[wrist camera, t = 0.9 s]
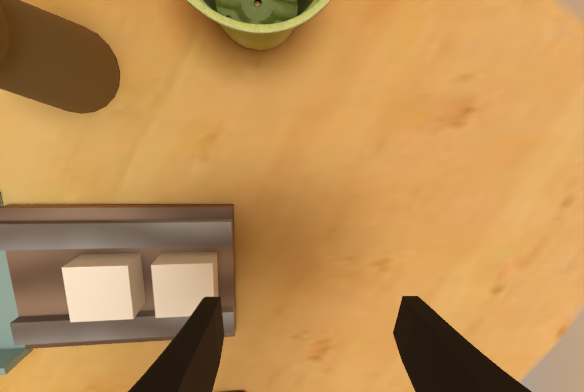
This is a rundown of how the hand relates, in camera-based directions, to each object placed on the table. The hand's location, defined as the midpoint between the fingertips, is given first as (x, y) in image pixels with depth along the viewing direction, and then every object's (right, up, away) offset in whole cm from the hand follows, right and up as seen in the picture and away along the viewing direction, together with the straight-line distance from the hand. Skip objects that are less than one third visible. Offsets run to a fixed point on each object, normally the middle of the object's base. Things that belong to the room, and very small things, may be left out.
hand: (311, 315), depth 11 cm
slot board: (-14, -2, +12) cm, 19 cm away
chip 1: (-15, -2, +11) cm, 19 cm away
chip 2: (-9, -2, +12) cm, 15 cm away
